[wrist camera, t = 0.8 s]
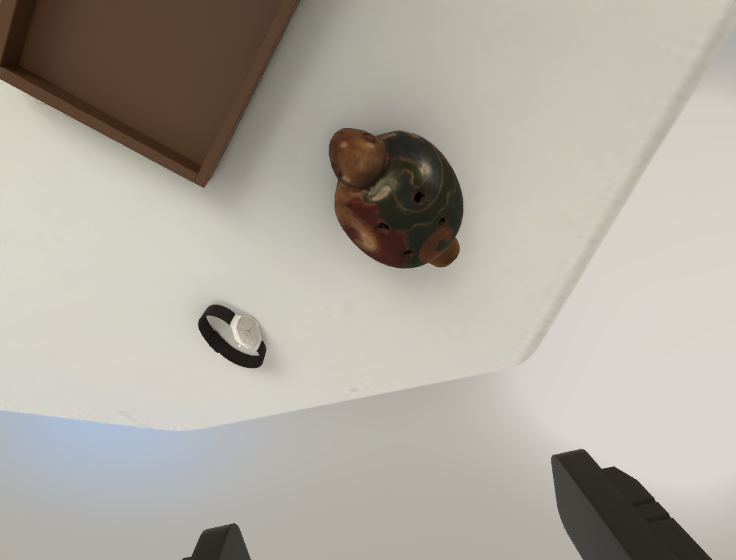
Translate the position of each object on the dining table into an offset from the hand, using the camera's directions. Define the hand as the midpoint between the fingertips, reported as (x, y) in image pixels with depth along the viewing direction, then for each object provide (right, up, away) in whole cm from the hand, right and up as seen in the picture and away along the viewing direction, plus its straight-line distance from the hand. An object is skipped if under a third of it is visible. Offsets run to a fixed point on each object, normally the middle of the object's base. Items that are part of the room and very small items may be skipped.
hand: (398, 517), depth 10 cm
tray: (-14, +25, +17) cm, 34 cm away
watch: (-14, +1, +31) cm, 34 cm away
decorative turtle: (+1, +14, +26) cm, 30 cm away
